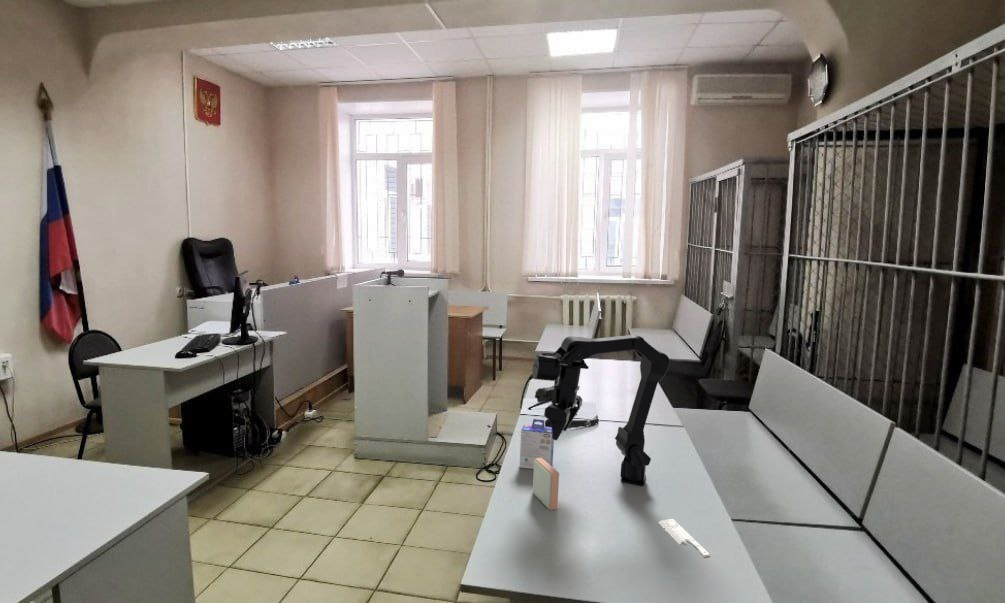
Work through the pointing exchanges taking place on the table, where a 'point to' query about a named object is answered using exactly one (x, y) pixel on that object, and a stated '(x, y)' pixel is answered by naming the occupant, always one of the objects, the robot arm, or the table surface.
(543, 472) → the tile
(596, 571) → the table surface
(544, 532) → the table surface
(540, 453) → the ink cartridge box
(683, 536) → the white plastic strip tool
